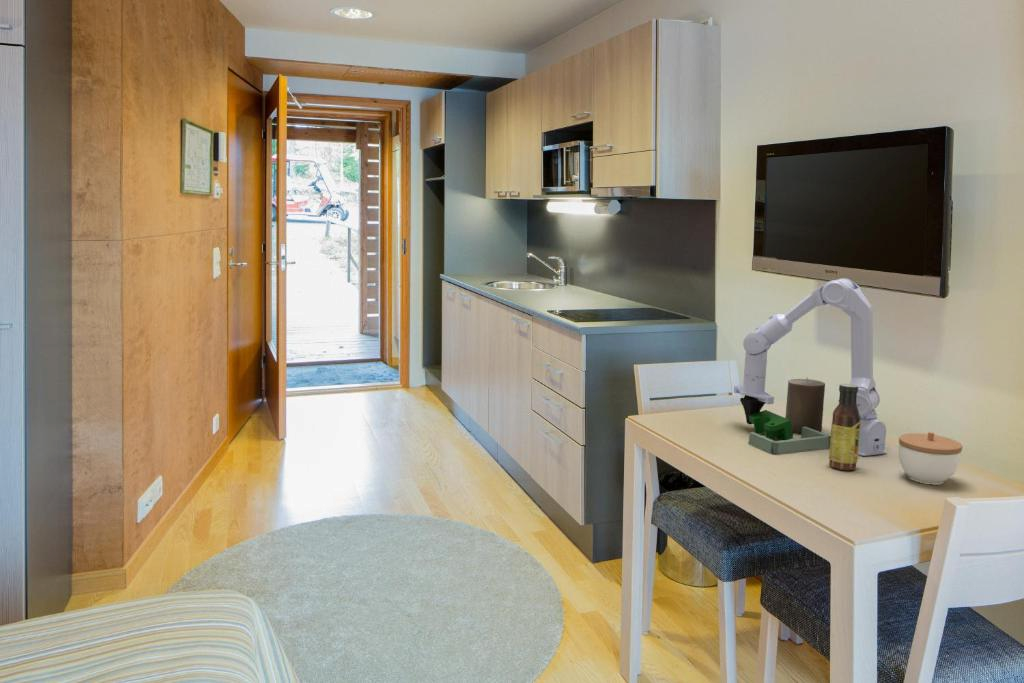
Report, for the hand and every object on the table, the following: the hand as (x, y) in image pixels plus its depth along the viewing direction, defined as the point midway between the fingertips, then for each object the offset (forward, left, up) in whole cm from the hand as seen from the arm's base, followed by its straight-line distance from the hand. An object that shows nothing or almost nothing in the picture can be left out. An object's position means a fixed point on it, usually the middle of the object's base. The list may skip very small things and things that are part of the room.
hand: (751, 423), depth 216 cm
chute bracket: (-15, 0, -2) cm, 15 cm away
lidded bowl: (-47, -12, -2) cm, 48 cm away
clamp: (-7, 0, -2) cm, 7 cm away
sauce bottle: (-34, 0, -2) cm, 34 cm away
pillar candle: (-5, -14, -2) cm, 15 cm away
